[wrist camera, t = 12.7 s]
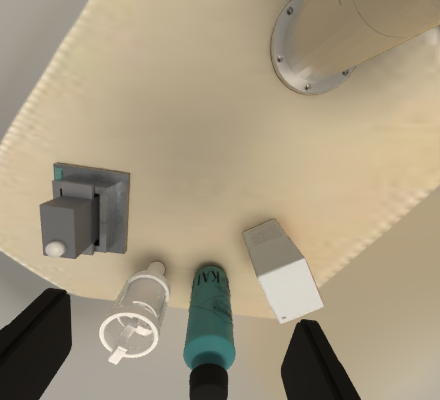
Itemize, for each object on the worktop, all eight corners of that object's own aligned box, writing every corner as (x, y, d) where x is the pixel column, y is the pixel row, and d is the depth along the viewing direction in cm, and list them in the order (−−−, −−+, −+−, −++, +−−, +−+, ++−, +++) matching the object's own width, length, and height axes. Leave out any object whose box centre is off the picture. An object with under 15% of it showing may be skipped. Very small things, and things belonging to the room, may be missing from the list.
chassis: (57, 162, 34) (35, 166, 29) (130, 173, 35) (118, 179, 30) (61, 243, 38) (42, 257, 33) (126, 250, 39) (115, 265, 34)
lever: (78, 176, 33) (31, 191, 25) (104, 180, 34) (68, 196, 25) (79, 240, 37) (38, 273, 28) (104, 243, 37) (71, 276, 28)
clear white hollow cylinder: (130, 274, 40) (84, 352, 26) (149, 245, 38) (111, 311, 24) (163, 291, 41) (137, 374, 27) (183, 264, 40) (167, 337, 25)
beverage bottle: (220, 294, 42) (227, 427, 23) (187, 283, 41) (166, 414, 22) (233, 266, 40) (253, 386, 21) (200, 255, 39) (189, 369, 20)
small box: (290, 253, 40) (326, 307, 27) (258, 267, 41) (279, 326, 28) (274, 216, 38) (305, 257, 25) (241, 231, 38) (255, 278, 26)
